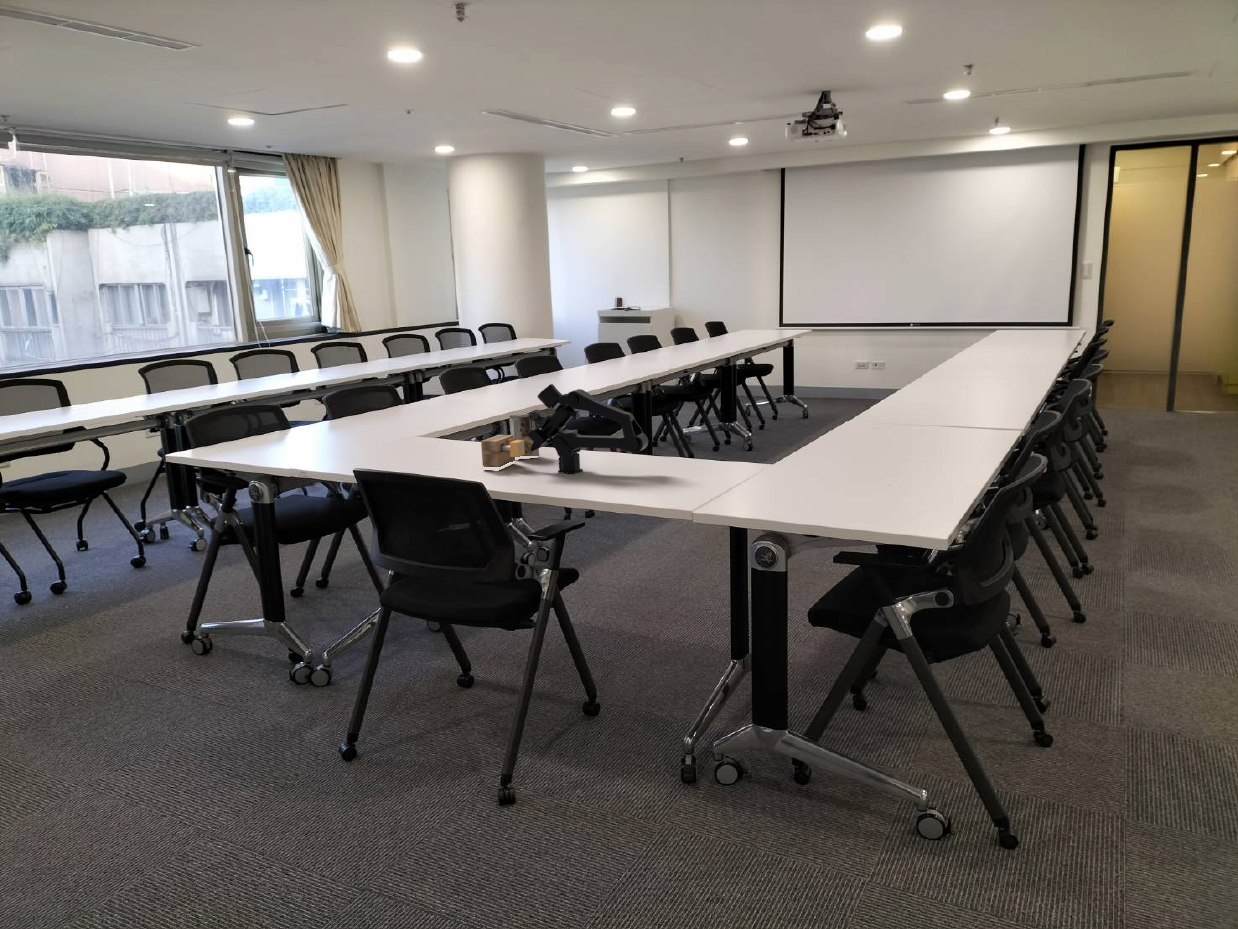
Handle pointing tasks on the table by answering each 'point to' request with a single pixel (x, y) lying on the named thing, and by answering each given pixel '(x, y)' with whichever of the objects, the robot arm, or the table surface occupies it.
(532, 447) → the robot arm
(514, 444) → the knob
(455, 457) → the table surface
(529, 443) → the coffee box
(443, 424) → the table surface
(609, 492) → the table surface
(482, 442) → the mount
